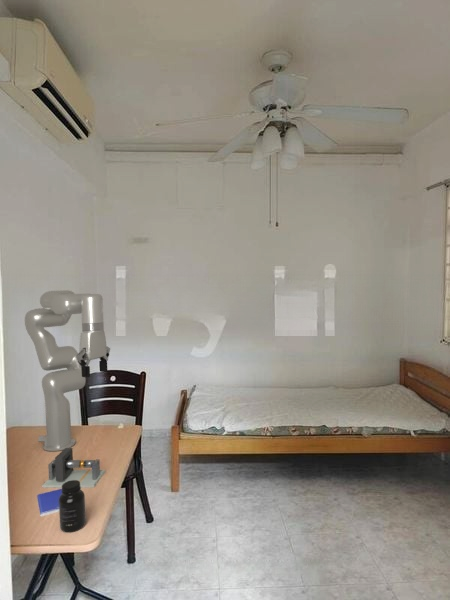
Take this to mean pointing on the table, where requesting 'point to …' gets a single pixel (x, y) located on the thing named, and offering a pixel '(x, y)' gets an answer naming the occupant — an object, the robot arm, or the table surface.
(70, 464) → the rail
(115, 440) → the table surface
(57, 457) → the collar
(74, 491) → the supplement bottle
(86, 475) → the board
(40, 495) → the hard drive
